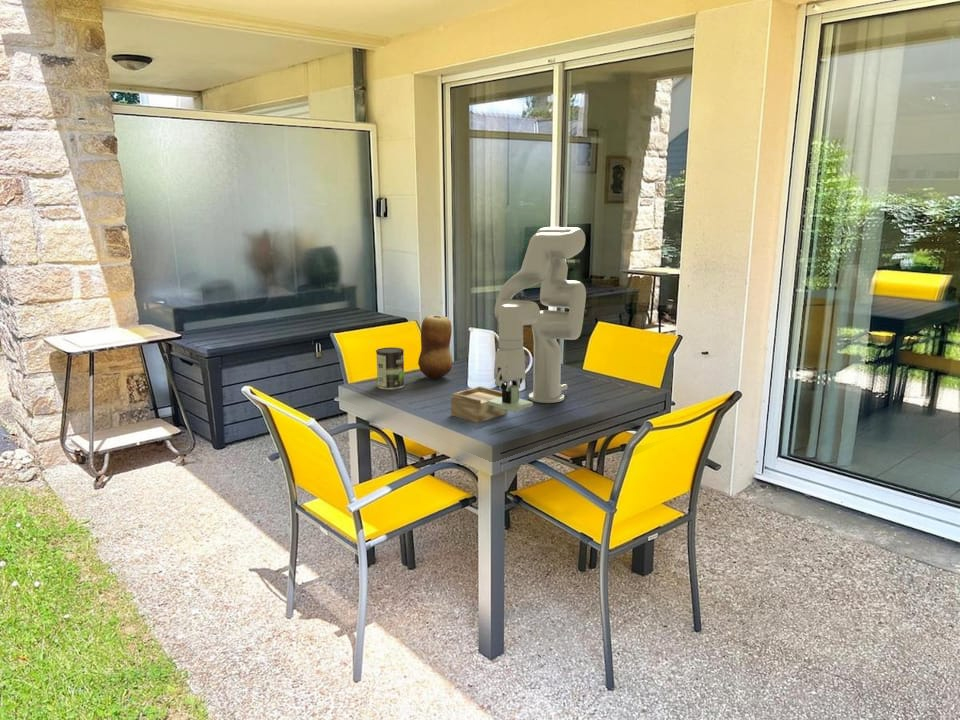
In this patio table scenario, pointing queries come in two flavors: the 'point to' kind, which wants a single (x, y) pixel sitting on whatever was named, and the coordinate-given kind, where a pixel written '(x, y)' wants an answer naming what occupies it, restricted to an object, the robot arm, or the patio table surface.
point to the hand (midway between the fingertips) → (510, 400)
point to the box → (475, 404)
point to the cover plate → (510, 406)
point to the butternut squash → (435, 347)
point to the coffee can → (390, 368)
